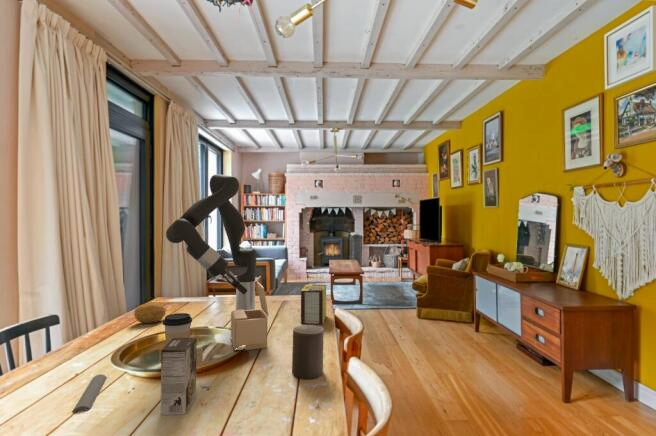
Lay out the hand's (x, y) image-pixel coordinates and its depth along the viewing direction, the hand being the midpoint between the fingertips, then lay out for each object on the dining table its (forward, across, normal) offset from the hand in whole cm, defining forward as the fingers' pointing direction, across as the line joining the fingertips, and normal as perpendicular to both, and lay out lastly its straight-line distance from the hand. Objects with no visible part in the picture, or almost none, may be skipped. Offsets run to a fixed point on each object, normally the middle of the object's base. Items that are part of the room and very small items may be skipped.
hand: (245, 292), depth 138 cm
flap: (+11, 0, +1) cm, 11 cm away
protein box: (+39, +23, -11) cm, 47 cm away
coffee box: (-1, -41, +29) cm, 51 cm away
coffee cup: (-3, -9, +31) cm, 32 cm away
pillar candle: (+25, -33, +3) cm, 42 cm away
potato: (-13, +43, +41) cm, 60 cm away
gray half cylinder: (-17, -26, +46) cm, 56 cm away
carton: (+15, 0, +13) cm, 20 cm away
